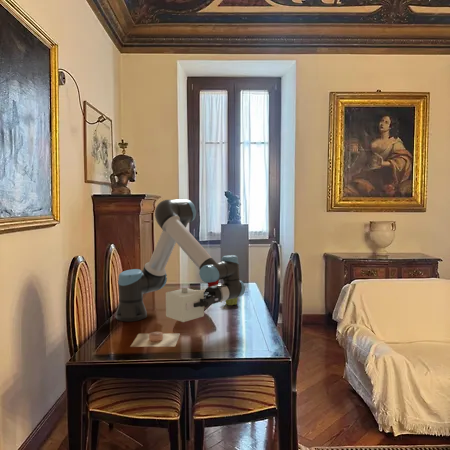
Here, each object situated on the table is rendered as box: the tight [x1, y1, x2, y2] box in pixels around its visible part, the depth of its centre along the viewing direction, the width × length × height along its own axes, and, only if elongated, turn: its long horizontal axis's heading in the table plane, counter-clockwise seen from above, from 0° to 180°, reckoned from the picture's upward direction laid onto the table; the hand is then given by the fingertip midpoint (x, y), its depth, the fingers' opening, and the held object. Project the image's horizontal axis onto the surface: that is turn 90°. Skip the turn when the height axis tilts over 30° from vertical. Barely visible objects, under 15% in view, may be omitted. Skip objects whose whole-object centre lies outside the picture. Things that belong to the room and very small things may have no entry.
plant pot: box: [225, 297, 239, 306], centre depth 245 cm, size 9×9×9 cm
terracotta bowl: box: [148, 331, 164, 342], centre depth 182 cm, size 6×6×3 cm
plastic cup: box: [207, 280, 220, 288], centre depth 284 cm, size 11×11×12 cm
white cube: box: [165, 287, 205, 323], centre depth 181 cm, size 11×11×12 cm
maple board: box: [129, 333, 181, 348], centre depth 183 cm, size 18×16×2 cm
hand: (177, 303), depth 178 cm, fingers closed on white cube, 11 cm apart
